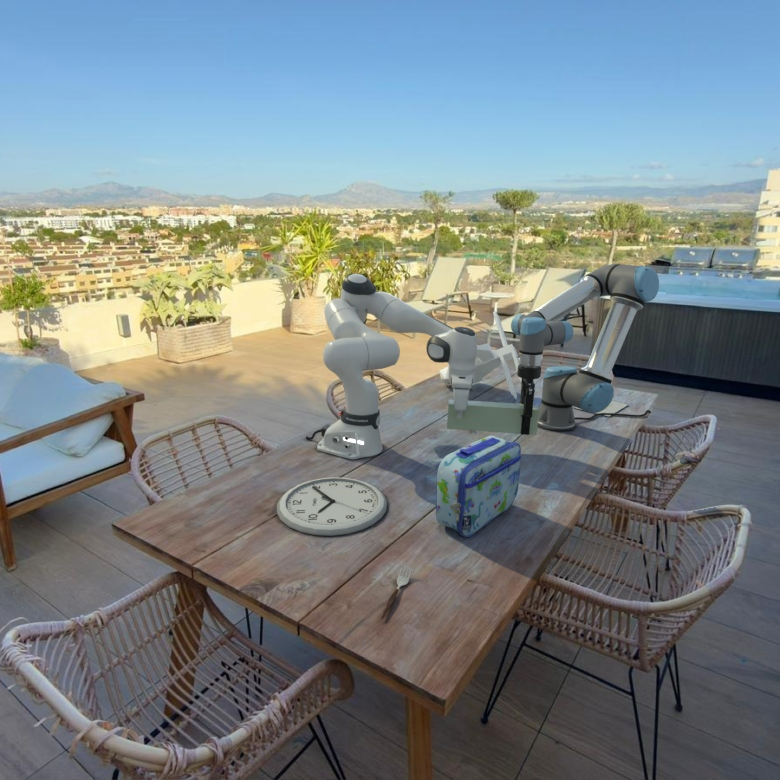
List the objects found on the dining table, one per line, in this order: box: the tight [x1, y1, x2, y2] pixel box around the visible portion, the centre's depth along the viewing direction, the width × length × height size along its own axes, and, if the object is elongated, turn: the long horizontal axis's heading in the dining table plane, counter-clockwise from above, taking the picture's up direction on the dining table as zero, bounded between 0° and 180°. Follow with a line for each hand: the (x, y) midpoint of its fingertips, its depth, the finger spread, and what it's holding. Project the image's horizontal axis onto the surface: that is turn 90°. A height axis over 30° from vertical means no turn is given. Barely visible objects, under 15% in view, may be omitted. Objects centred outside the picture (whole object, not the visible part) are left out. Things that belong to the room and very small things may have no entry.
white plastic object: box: [438, 310, 522, 400], centre depth 245 cm, size 37×45×31 cm
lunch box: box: [435, 435, 522, 538], centre depth 134 cm, size 26×11×21 cm, turn 134°
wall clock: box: [276, 476, 388, 537], centre depth 142 cm, size 30×2×30 cm
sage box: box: [446, 398, 539, 436], centre depth 178 cm, size 30×5×9 cm, turn 83°
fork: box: [381, 564, 413, 619], centre depth 108 cm, size 3×16×2 cm, turn 160°
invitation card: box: [573, 400, 629, 418], centre depth 226 cm, size 21×1×15 cm
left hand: (459, 414), depth 179 cm, fingers closed on sage box, 5 cm apart
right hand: (523, 430), depth 178 cm, fingers closed on sage box, 5 cm apart
